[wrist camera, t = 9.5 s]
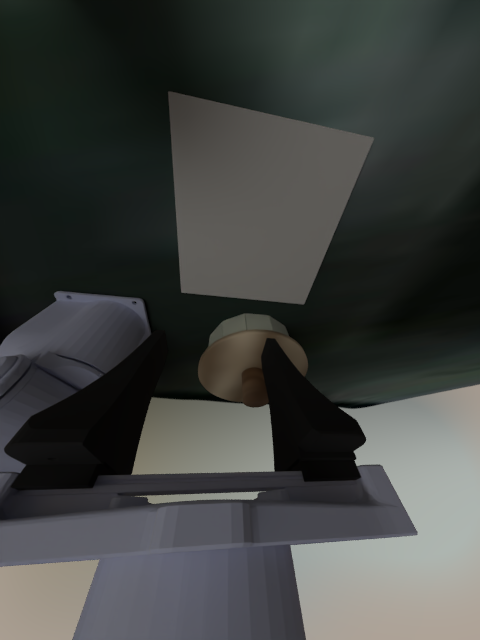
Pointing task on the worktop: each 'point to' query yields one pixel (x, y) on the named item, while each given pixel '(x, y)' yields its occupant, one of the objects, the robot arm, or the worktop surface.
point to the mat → (256, 198)
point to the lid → (244, 365)
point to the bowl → (246, 325)
